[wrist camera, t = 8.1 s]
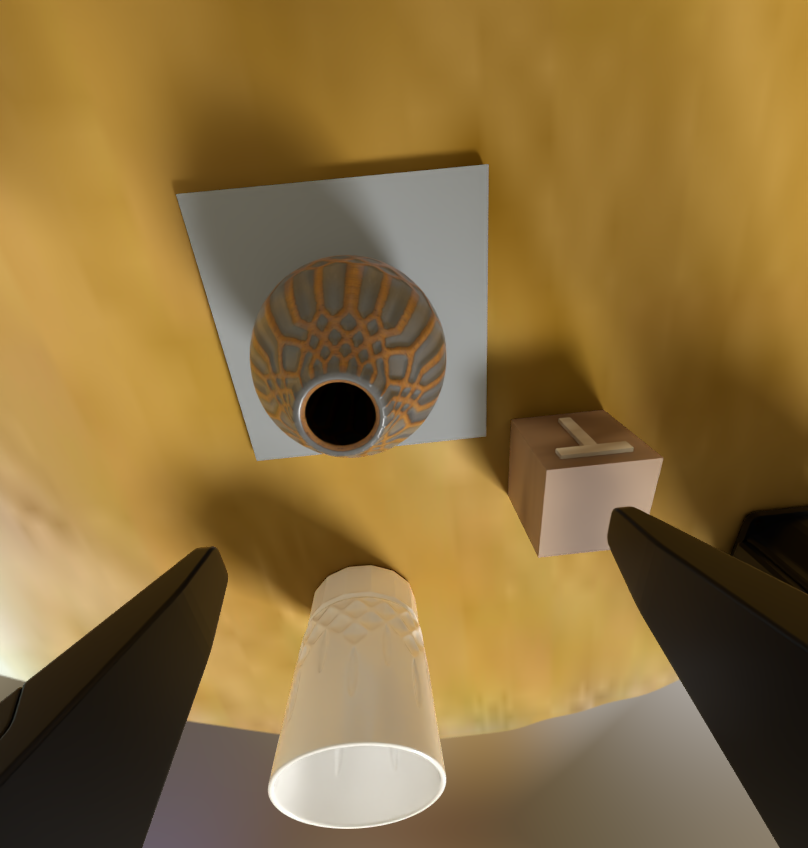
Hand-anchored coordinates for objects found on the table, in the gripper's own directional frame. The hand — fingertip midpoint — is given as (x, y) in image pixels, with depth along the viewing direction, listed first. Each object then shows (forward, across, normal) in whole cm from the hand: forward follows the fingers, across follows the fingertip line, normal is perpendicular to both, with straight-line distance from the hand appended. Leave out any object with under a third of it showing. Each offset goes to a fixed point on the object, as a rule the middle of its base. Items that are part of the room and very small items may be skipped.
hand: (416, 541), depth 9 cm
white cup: (+12, +4, +16) cm, 20 cm away
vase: (+11, +2, -2) cm, 11 cm away
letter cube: (+12, -8, +6) cm, 16 cm away
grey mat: (+12, +2, -2) cm, 12 cm away
